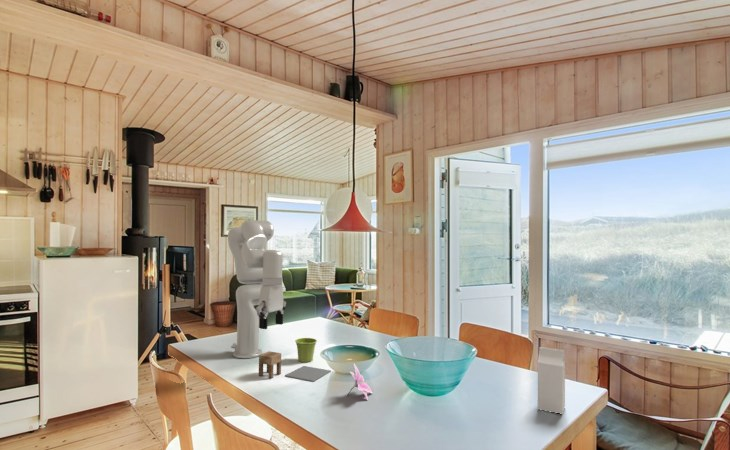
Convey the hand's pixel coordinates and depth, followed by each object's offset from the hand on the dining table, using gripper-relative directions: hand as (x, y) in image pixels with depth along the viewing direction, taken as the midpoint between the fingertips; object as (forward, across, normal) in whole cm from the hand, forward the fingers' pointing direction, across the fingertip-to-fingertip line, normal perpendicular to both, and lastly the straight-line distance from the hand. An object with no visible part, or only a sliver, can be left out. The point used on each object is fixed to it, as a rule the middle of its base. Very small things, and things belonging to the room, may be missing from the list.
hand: (271, 326), depth 157 cm
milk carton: (+20, -15, +99) cm, 102 cm away
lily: (+20, +3, +40) cm, 44 cm away
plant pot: (+19, -22, +2) cm, 29 cm away
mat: (+19, -8, +12) cm, 24 cm away
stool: (+19, 0, 0) cm, 19 cm away
